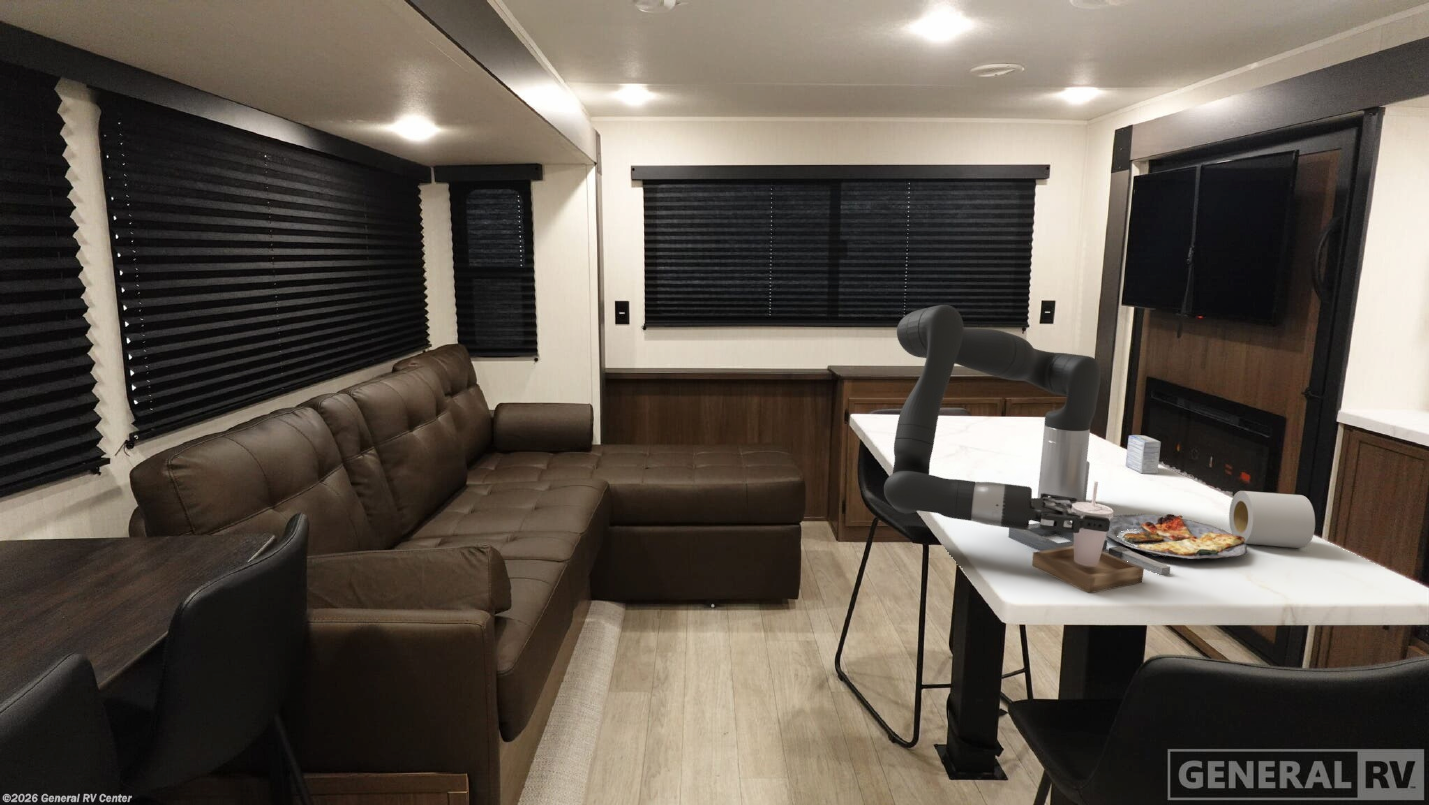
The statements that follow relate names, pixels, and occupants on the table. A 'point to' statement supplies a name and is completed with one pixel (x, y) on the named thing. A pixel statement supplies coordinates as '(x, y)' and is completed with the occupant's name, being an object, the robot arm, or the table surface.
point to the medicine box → (1143, 454)
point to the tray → (1087, 570)
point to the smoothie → (1090, 532)
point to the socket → (1043, 538)
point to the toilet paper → (1272, 519)
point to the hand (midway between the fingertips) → (1107, 519)
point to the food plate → (1175, 537)
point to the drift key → (1139, 560)
